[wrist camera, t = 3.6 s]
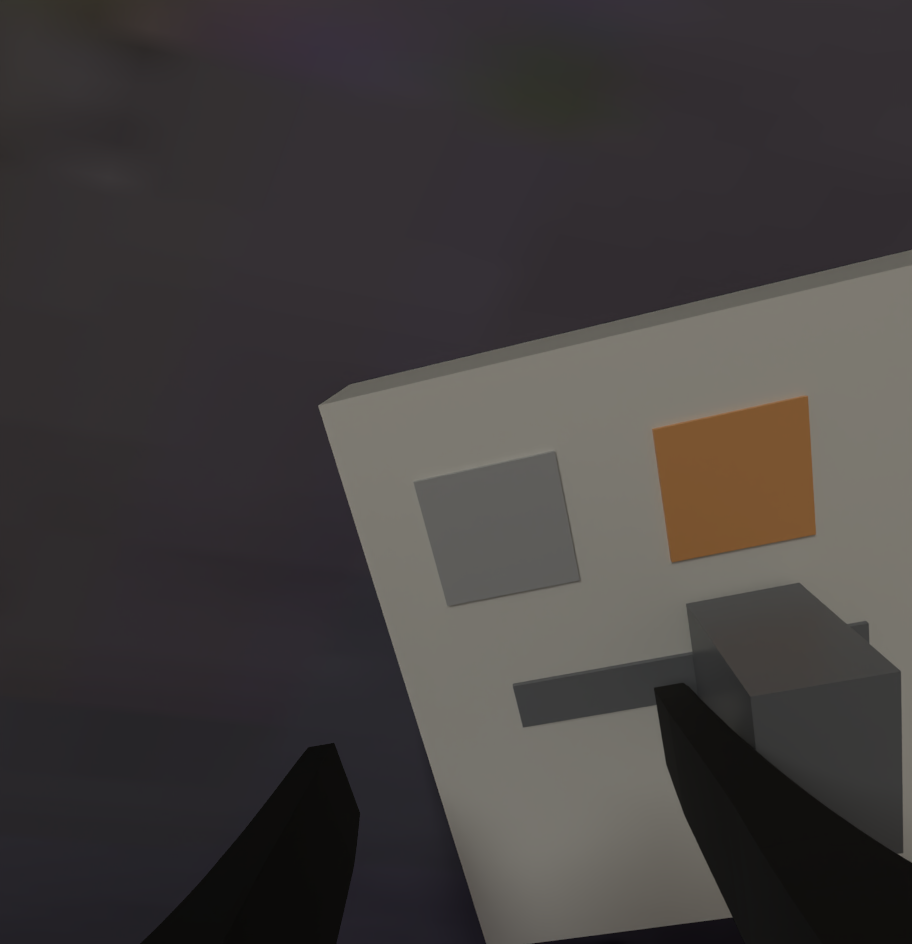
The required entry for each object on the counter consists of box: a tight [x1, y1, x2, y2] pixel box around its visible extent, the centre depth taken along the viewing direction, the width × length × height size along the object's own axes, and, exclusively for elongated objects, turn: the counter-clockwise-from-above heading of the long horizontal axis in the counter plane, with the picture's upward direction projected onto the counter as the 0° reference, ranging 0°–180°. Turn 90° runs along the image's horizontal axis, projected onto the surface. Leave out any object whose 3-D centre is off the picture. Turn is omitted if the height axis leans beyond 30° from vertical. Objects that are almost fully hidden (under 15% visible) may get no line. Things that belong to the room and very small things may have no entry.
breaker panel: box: [319, 250, 912, 944], centre depth 14 cm, size 16×14×3 cm
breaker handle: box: [686, 583, 903, 854], centre depth 11 cm, size 4×2×3 cm, turn 13°
